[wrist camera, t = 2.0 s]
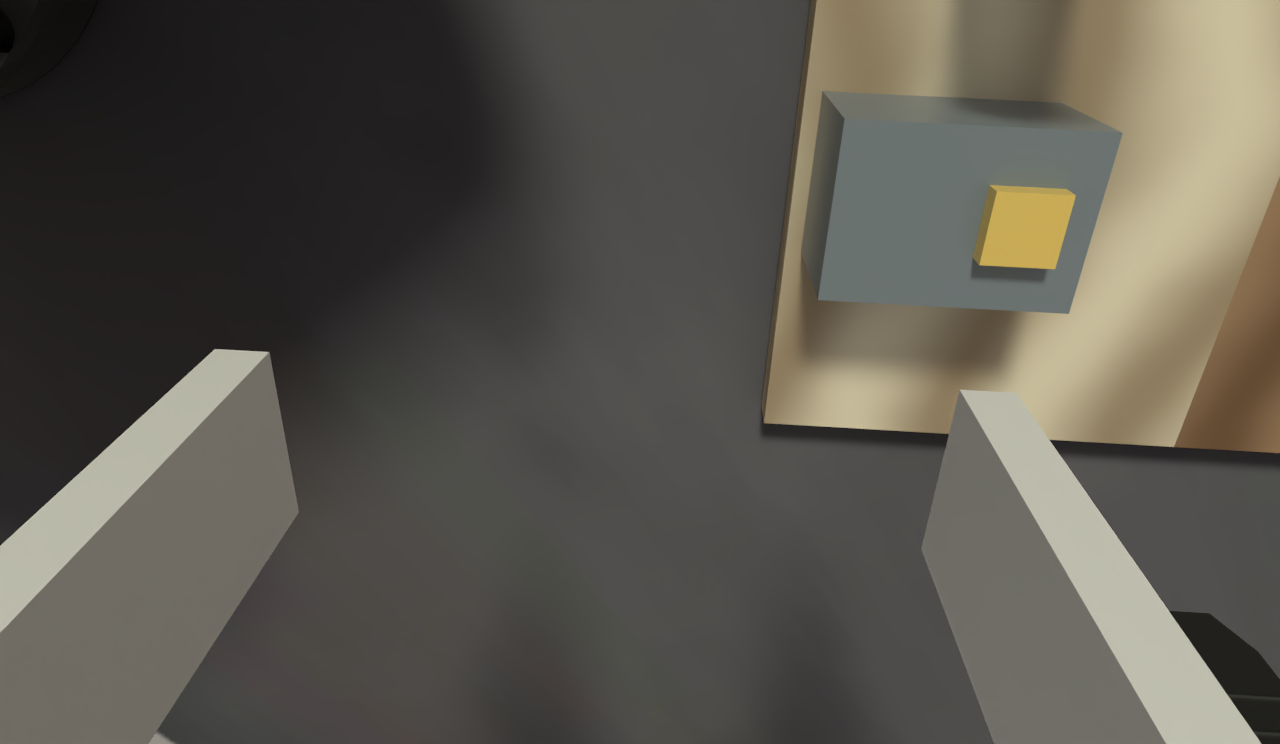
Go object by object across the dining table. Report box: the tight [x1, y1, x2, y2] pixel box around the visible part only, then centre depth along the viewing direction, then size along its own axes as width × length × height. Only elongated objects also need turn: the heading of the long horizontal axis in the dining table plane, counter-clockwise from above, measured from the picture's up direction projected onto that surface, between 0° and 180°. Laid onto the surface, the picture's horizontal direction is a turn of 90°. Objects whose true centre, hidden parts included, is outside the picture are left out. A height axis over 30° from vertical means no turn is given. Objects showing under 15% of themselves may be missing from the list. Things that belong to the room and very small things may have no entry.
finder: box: [801, 91, 1123, 314], centre depth 24 cm, size 7×5×5 cm
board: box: [761, 0, 1280, 453], centre depth 27 cm, size 24×16×1 cm, turn 88°
